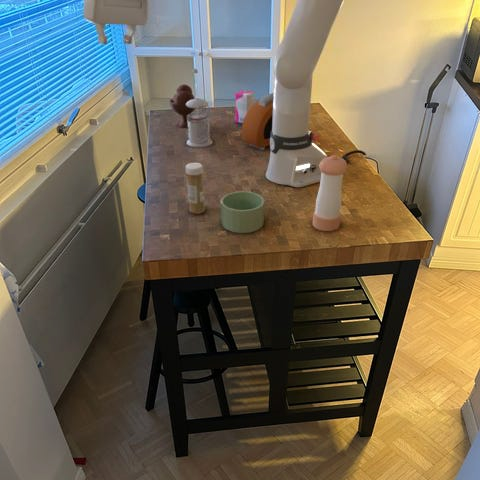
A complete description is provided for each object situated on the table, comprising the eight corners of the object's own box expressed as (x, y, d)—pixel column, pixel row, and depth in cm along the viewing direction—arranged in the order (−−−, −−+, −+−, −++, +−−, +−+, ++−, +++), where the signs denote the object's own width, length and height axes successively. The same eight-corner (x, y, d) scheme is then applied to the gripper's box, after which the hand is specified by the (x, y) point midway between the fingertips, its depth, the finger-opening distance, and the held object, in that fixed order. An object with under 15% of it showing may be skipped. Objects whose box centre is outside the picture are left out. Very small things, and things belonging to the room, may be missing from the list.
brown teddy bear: (169, 122, 195) (165, 83, 185) (195, 119, 198) (193, 80, 188) (174, 131, 187) (170, 90, 178) (201, 128, 190) (199, 87, 180)
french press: (181, 143, 177) (174, 70, 161) (200, 134, 184) (195, 63, 168) (202, 149, 173) (197, 73, 156) (220, 139, 180) (218, 66, 164)
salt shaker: (307, 224, 129) (313, 155, 117) (323, 215, 133) (331, 147, 121) (328, 234, 126) (337, 163, 113) (344, 224, 129) (355, 155, 117)
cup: (254, 209, 136) (255, 188, 132) (270, 228, 128) (270, 206, 124) (216, 216, 133) (215, 195, 129) (229, 236, 125) (228, 214, 121)
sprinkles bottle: (208, 211, 136) (205, 166, 127) (194, 216, 134) (190, 170, 125) (200, 205, 139) (197, 160, 130) (186, 209, 137) (182, 164, 128)
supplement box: (254, 121, 196) (254, 91, 188) (247, 125, 192) (247, 95, 184) (242, 119, 198) (242, 89, 190) (235, 123, 194) (234, 93, 187)
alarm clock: (256, 153, 169) (257, 103, 158) (240, 146, 174) (240, 98, 164) (303, 138, 180) (306, 91, 169) (286, 132, 186) (289, 86, 175)
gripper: (98, -21, 107) (96, 47, 115) (155, -14, 122) (149, 46, 130) (77, -29, 108) (76, 39, 117) (135, -20, 124) (131, 39, 132)
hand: (115, 43), depth 124 cm, fingers open, 8 cm apart
